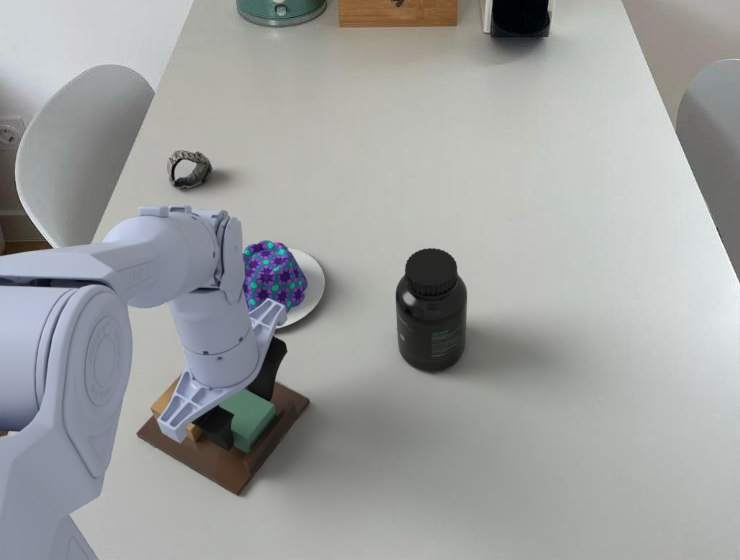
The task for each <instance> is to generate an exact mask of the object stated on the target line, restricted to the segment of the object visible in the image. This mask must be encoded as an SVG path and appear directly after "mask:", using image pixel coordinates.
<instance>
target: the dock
mask: <svg viewBox="0 0 740 560" xmlns="http://www.w3.org/2000/svg"><path fill="white" fill-rule="evenodd" d="M181 376H182V373H180V374H179V376H178V377H177V378H176V379H175V380H174V381H173V382H172V383H171V385H169V387H168V388H167V389H166V390H165V391H164V392H163V393H162V394H161V395H160V396H159V397H158V398H157V399H156V400H155V401H154V403H153V404H152V405H151V406H150V410H151V412H152V416H151V417H150V418H149V419H148V420H147V421H146V422H145V423H143V425H142V426H141V427H140V428H139V430H137V432H136V433H135V434H136V436H137V437H138V438H139V439H141V440H142V441H144V442H146V443H147V444H149V445H151V446H152V447H154V448H156V449H157V450H159V451H161V452H162V453H164V454H166V455H167V456H169V457H171V458H173V459H175V460H176V461H178V462H179V463H181V464H183V465H185V466H186V467H188V468H190V469H191V470H193V471H194V472H196V473H198V474H200V475H201V476H203V477H205V478H206V479H208V480H210V481H212V482H213V483H215V484H217V485H218V486H219V487H221V488H223V489H225V490H227V491H228V492H229V493H231V494H233V495H235V496H237V497H239V496H240V494H241V493H242V492H243V491H244V490H245V488H246V487H247V486H248V484H249V483H250V481H252V479H253V477H254V476H255V475H256V474H257V472H258V471H259V470H260V468H261V467H262V466H263V464H264V463H265V462H266V461H267V459H268V458H269V456H270V455H271V454H272V453H273V451H274V450H275V449H276V448H277V446H278V445H279V444H280V443H281V441H282V440H283V438H284V437H285V436H286V435H287V434H288V432H289V431H290V430H291V428H292V427H293V426H294V424H295V423H296V421H297V420H298V419H299V418H300V416H301V415H302V414H303V412H304V411H305V410H306V408H308V406H309V405H310V403H311V400H310V398H308V397H307V396H305V395H302V394H301V393H298V392H296V391H295V390H293V389H291V388H289V387H287V386H285V385H283V384H281V383H279V382H278V381H275V384H274V390H273V396H272V399H271V400H270V401H269V402H270V403H272V404H274V405H275V409H276V413H277V417H276V418H275V420H274V421H273V422H272V423H271V425H270V426H269V427H268V428H267V430H266V431H265V432H264V434H263V435H262V436H261V437H260V439H259V440H258V441H257V442H256V444H255V445H254V446H253V447H252V449H251V450H250V451H249V452H248V453H246V452H244V451H242V450H241V449H239V448H237V447H235V446H233V447H232V448H231V449H230V451H226V450H225V449H223V448H221V447H219V446H218V445H216V444H214V443H212V441H211V440H210V439H209V437H208V436H207V435H206V434H205V433H204V432H203V431H202V430H201V429H200V428H199V427H197V426H195V425H194V424H192V423H190V424H188V425H187V427H186V429H187V432H188V435H187V436H186V437H185V439H184V440H183V441H182V442H181V443H179V442H177V441H175V440H173V439H171V438H170V437H168V436H167V435H165V434H163V433H162V431H161V429H160V426H159V424H158V422H157V419H158V418H159V417H160V416H161V414H162V413H163V412H164V410H165V409H166V407H167V406H168V404H169V400H170V398H171V397H172V395H173V393H174V391H175V389H176V387H177V384H178V382H179V380H180V378H181ZM244 389H246V390H248V388H247V386H246V387H245V388H244ZM248 391H249V390H248Z"/></svg>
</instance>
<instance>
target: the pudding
mask: <svg viewBox="0 0 740 560" xmlns="http://www.w3.org/2000/svg"><path fill="white" fill-rule="evenodd" d="M243 262H244V266H245V278H244V282H243V291H244V295H245V299H246V303H247V307H248V311H249V312H251V311H253V310H254V309H256V308H257V307H259V306H260V305H261V304H262V303H263V302H264V301H265V300H266V299H267V298H269V299H272V300H274V301H276V302H278V303H280V304H282V305H284V306H285V308H286V313H287V318H288V320H287V321H286V322H285V323H284V324H283V325H282V326H276V329H281V328H284V327H287V326H290V325H291V324H295V323H296V322H298V321H300V320H302V319H303V318H305V317H306V316H307V315H309V313H311V312H312V311H313V310H314V309H315V308H316V306H317V305H318V304H319V303H320V300H321V299H322V296H323V294H324V291H325V287H326V280H325V273H324V270H323V268H322V267H321V266H320V264H319V262H317V260H316V259H315V258H314V257H312V256H311V255H309V254H308V253H306V252H304V251H302V250H300V249H296V248H293V247H288V246H286V244H284V243H283V242H279V241H276V242H274V241H271V240H268V239H267V240H266V239H265V240H261V241H259V242H258V243H252V244H249V245H247V246H246V247H244V250H243ZM276 329H275V330H276Z"/></svg>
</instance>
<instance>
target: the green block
mask: <svg viewBox="0 0 740 560" xmlns="http://www.w3.org/2000/svg"><path fill="white" fill-rule="evenodd" d="M219 406H220V407H222V408H223V409H225V410H227V411H229V412H231V413H233V414H234V417H233V419H232V423H231V431H232V435H233V439H234V446H235V447H237V448H239V449H241V450H242V451H244V452H246V453H248V452H249V451H250V450H251V449H252V447H253V446H254V445H255V444H256V442H257V441H258V440H259V439H260V437H261V436H262V435H263V434H264V432H265V431H266V430H267V428H268V427H269V426H270V425H271V423H272V422H273V421H274V420H275V418H276V417H277V413H276V409H275V405H274V404H272V403H270V402H268V401H267V400H265V399H263V398H261V397H259V396H257V395H255V394H253V393H251V392H249V391H248V390H246V389H244V388H243V389H242V390H240V391H239V392H237V393H236V394H234V395H232V396H231V397H229V398H228V399H226V400H225V401H223V402H222V403H220V404H219Z"/></svg>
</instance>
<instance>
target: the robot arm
mask: <svg viewBox="0 0 740 560" xmlns="http://www.w3.org/2000/svg"><path fill="white" fill-rule="evenodd" d="M137 211H138V213H137V214H138V215H137V216H133V217H130V218H126V219H125V220H123V221H120V222H119V223H117V224H115V226H114V227H112V228H111V229H110V230H109V231H108V232H107V234H106V235H105V237H104V238H103V240H102V242H97V243H88V244H80V245H71V246H64V247H63V246H62V247H56V248H48V249H39V250H31V251H23V252H18V253H12V254H11V253H10V254H6V255H0V432H16V433H14V434H0V560H100V559H99V557H98V556H97V555H96V553H95V551H94V550H93V548H92V547H91V546H90V544H89V542H88V540H87V539H86V538H85V536H84V535H83V533H82V532H81V530H80V528H79V527H78V525H77V524H76V523H75V521H74V520H73V518H72V517H71V515H70V514H73V513H74V512H76V511H77V510H80V508H83V507H84V506H86V505H87V504H89V503H91V502H92V501H94V500H96V499H98V498H99V497H100V495H101V493H102V490H103V485H104V481H105V476H106V471H107V470H108V469H109V466H110V463H111V459H112V455H113V450H114V445H115V441H116V435H117V430H118V426H119V421H120V416H121V411H122V407H123V403H124V397H125V394H126V392H127V388H128V384H129V380H130V376H131V371H132V361H133V351H134V350H133V348H134V347H133V331H132V325H131V320H130V315H129V308H128V306H129V307H131V308H132V307H133V308H136V309H152V308H156V307H157V308H158V307H159V306H162V305H164V304H166V303H167V305H168V308H169V311H170V313H171V316H172V319H173V322H174V324H175V327H176V331H177V334H178V336H179V339H180V343H181V345H182V349H183V353H184V355H185V357H186V360H187V362H186V365H185V367H184V369H183V371H182V373H181V374H182V376H181V378H180V380H179V382H178V384H177V387H176V389H175V391H174V393H173V395H172V397H171V398H170V400H169V404H168V406H167V407H166V409H165V410H164V412H163V413H162V414H161V416H160V417H159V418H158V419H157V422H158V424H159V426H160V429H161V431H162V433H163V434H165V435H167V436H168V437H170V438H171V439H173V440H175V441H177V442H179V443H181V442H182V441H183V440H184V439H185V437H186V436H187V435H188V432H187V429H186V427H187V425H188V424H190V423H192V424H194V425H195V426H197V427H199V428H200V429H201V430H202V431H203V432H204V433H205V434H206V435H207V436H208V437H209V439H210V440H211V441H212V443H214V444H216V445H218V446H219V447H221V448H223V449H225V450H226V451H230V449H231V448H232V447H233V446H234V439H233V435H232V431H231V423H232V419H233V417H234V414H233V413H231V412H229V411H227V410H225V409H223V408H222V407H220V406H219V404H220V403H222V402H223V401H225V400H226V399H228V398H229V397H231V396H232V395H234V394H236V393H237V392H239V391H240V390H242V389H243V388H245V387H246V386H247V388H248V390H249V392H251V393H253V394H255V395H257V396H259V397H261V398H263V399H265V400H267V401H268V402H269V401H270V400H271V399H272V396H273V390H274V384H275V382H276V379H277V375H278V371H279V368H280V366H281V363H282V362H283V360H284V358H285V356H286V355H287V353H288V347H287V343H286V342H285V341H284V340H282V339H280V338H278V337H276V336H274V334H275V332H276V326H282V325H283V324H284V323H285V322H286V321H287V320H288V318H287V313H286V308H285V306H284V305H282V304H280V303H278V302H276V301H274V300H272V299H269V298H267V299H266V300H265V301H264V302H263V303H262V304H261V305H260V306H259V307H257V308H256V309H254V310H253V311H251V312H249V311H248V307H247V303H246V299H245V295H244V291H243V282H244V278H245V266H244V262H243V253H244V251H243V243H244V239H243V228H242V222H241V220H239V219H238V218H237V217H236V216H232V217H231V216H230V215H229V211H227V210H225V209H197V208H196V209H193V208H192V206H191V205H190V204H171V205H170V206H167V205H140V206H139V207H138V209H137Z"/></svg>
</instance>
